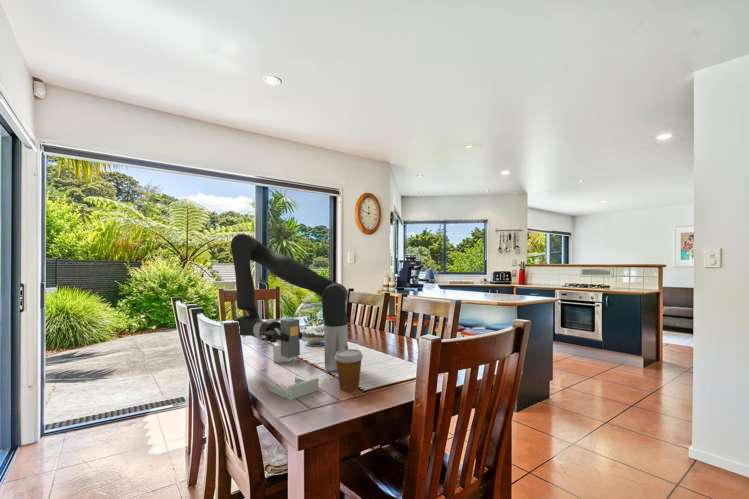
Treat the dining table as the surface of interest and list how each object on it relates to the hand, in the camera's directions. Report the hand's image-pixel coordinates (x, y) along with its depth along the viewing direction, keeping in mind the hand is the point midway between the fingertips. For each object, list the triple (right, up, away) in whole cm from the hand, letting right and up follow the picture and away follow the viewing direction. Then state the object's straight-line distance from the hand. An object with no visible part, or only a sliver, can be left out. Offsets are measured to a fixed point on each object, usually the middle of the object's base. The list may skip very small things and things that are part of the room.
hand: (294, 337), depth 123 cm
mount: (0, -18, +1) cm, 18 cm away
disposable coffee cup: (+18, -18, +2) cm, 25 cm away
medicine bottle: (-12, -19, +36) cm, 43 cm away
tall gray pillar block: (-2, -7, +2) cm, 7 cm away
